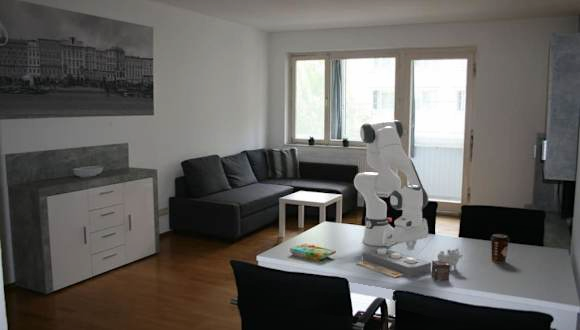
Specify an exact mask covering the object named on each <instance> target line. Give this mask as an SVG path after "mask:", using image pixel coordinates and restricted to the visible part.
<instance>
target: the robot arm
mask: <svg viewBox="0 0 580 330" xmlns="http://www.w3.org/2000/svg"><path fill="white" fill-rule="evenodd" d="M403 135H404V126H403V124H402V122H401V121H400V120H397V119H391V120H390V119H387V120H379V121H373V122H366V123H364V124H362V125H361V127H360V129H359V136H360V138H361V141H362V142H363V143H364V144H366V163H367V165H368V166H369V168H372V169H374V170H375V171H376V172H371V171H370V172H369V171H368V172H367V171H366V172H365V171H364V172H359V173H357V174H356V175H355V177H354V179H353V186H354V187H355V189H356V190H357V191H358V193H360V194H361V195H362V198H363V199H364V201H365V208H366V209H365V210H366V211H365V212H366V215H365V218H364V220H365V222H364V223H365V226H364V231H363V237H362V243H364V244H366V245H368V246H369V245H370V246H379V247H380V246H381V247H382V246H383V247H390V246H393V245H395V244H404V243H405V245H406V249H407V251H413V250H415V246H416V244H417V242H418V241H417V240H422V239H427V238H428V236H429V227H428V220H427V219H426V218H425V217H424V218H423V209H424V208H426V206H427V205H428V203H429V196H428V193H427V191H426V190H425V188H424V186H423V184H422V181H421V180H420V176H419V173H418V172H417V169H416V166H415V164H414V163H413V160H412V159H411V157H408V156H407V155H408V154H406V152H405V151H404V148H403V144H402V141H401V138H402V137H403ZM392 168H393V169H396V170H399V171H400V172H401V173H403V174H404V175H405V177H406V179H407V184H405V185H404V186H403V187H402V183H403V182H402V179H401V177H400V176H399V175H398V174H397V173H395V172H394V171H393V169H392ZM377 194H390V195H389V204H390V206H391V207H392V208H393V209H394V210H397V211H399V210H400V211H401V210H402V214H401V216H399V217H398V218H396V219H395V220H394V221H393V219H392V217H387V210H388V206H387V202H386V201H384V200H383V199H382V198H380V197H378V195H377ZM392 221H393V222H394V225H395V226H394V227H393V226H391V224H389V223H390V222H392Z"/></svg>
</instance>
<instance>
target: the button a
mask: <svg viewBox="0 0 580 330" xmlns="http://www.w3.org/2000/svg"><path fill="white" fill-rule="evenodd" d="M379 248H380V249H379ZM379 248H376V249H377V253H378V254H381V255H384V254H386V249H387V248H385V249H382V248H383V247H379Z"/></svg>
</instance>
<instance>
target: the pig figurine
mask: <svg viewBox="0 0 580 330" xmlns="http://www.w3.org/2000/svg"><path fill="white" fill-rule="evenodd" d="M462 258H463V254H462V253H461V252H460V250H459V248H454V249H449V248H448V249H447V252H445V251H444V250H440V251H439V252H438V254H437V261H446V262H447V263H448V264H449V265H450V272H452V268H453V270H455V271H457V270H458V268H457V264H458V263H459V261H460V259H462Z"/></svg>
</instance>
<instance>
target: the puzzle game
mask: <svg viewBox="0 0 580 330" xmlns="http://www.w3.org/2000/svg"><path fill="white" fill-rule="evenodd" d="M289 252H290V253H291V254H292V255H293V256H295V257H300V258H303V259H307V260H311V261H315V262H318V261H322V260H323V259H326V258H328V257H330V256H331V255H335V254H337V250H334V249H329V248H326V247H321V246H318V245H314V244H308V243H302V244H299V245H295V246H293V247H290V248H289Z"/></svg>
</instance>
